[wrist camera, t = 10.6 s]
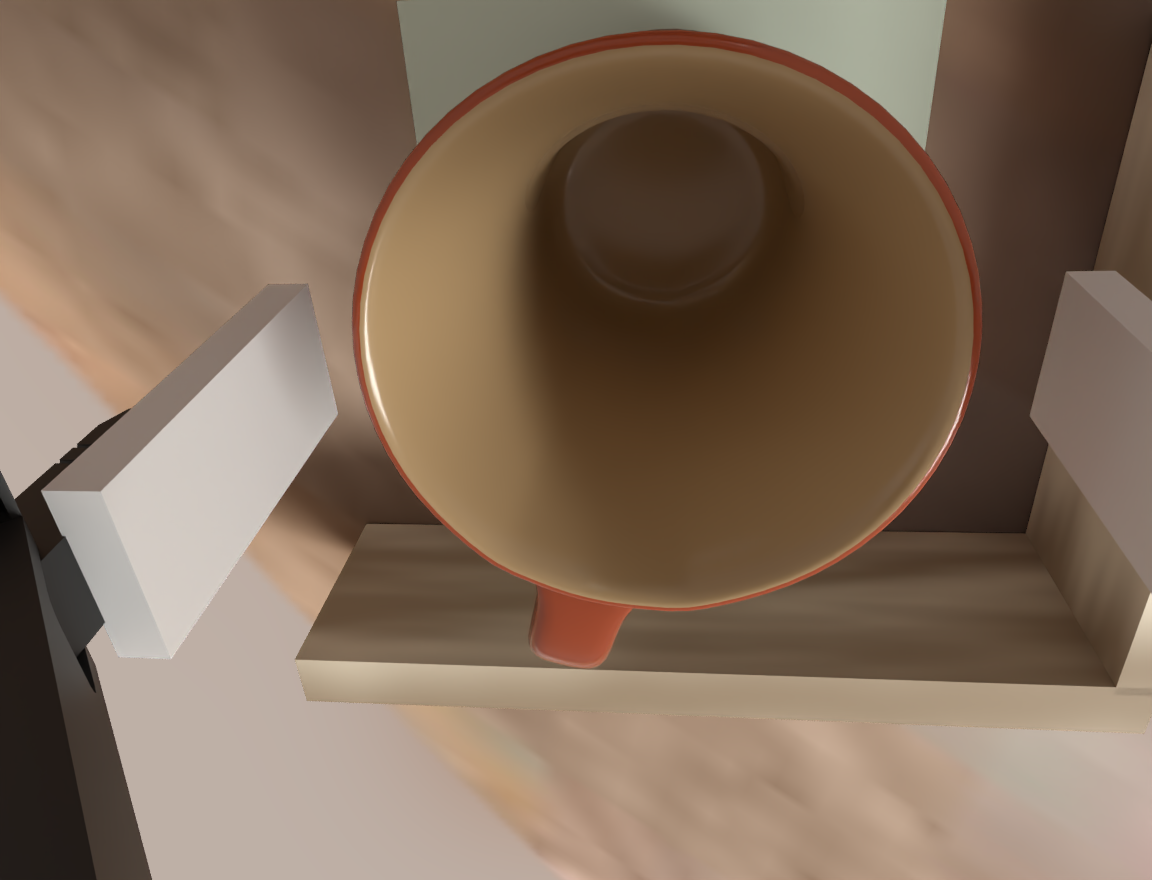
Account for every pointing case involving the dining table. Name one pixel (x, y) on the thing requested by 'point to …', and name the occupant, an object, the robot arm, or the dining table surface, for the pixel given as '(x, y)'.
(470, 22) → the pad
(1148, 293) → the side wall
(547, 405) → the mug
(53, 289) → the dining table surface
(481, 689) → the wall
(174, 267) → the dining table surface
